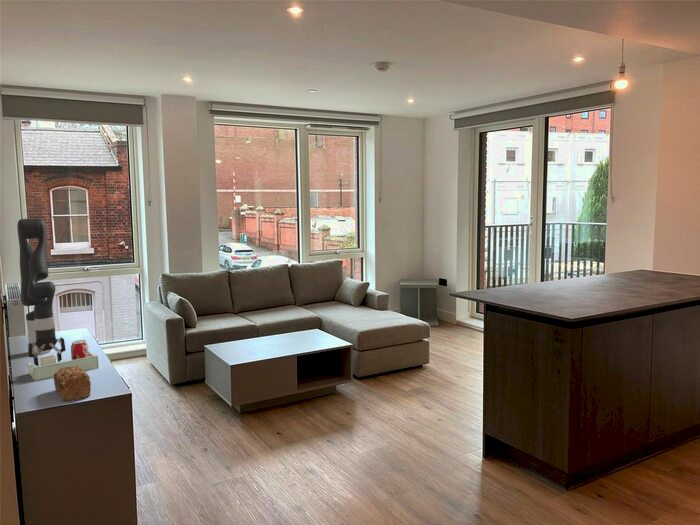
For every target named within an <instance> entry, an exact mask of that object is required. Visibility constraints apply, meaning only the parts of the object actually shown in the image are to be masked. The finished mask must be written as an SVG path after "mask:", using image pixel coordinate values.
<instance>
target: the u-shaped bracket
mask: <svg viewBox="0 0 700 525" xmlns="http://www.w3.org/2000/svg"><path fill="white" fill-rule="evenodd" d="M88 352H89V357H86V358H81V359H76V360H72V359H71V360H66V361H60V362H56V363H54V364H49V365H44V366H41V365H40V366H33V364H32V363H31V362H30V361H29V362H27V368H28V375H29V376H30V377H31V378H32V380H33V381H34V382H36V381H41V380H45V379H51V378H53V377H54V373H56V372H57V371H58V370H60V369H61V368H65V367H71V366H79V367H81V368H82V369H83V371H85V372H87V371H90V370H95V369H99V368H100V367H99V357H98V355H96V354H94V352H92V351H89V350H88ZM40 379H41V380H40Z"/></svg>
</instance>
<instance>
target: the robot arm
mask: <svg viewBox="0 0 700 525" xmlns="http://www.w3.org/2000/svg"><path fill="white" fill-rule="evenodd" d="M16 227H17V236H18V244H19V245H18V246H19V270H20V272H19V273H20V302H21V305H22V306H23V307H31V306H33V310H32V311H30V312H28V313H26V315H25V320H26V329H27V330H26V331H27V340H28V343H27V356H28V357H29V358H33V364H34V365H35V367H38V366H39V358H38V357H39V355H43V354H48V353H49V352H51V351H52V350H54V351H55V352H57V353H56V361H57V363H60V362H61V361H62V357H63V356H62V353H64V352H66V351H67V350H66V343H65V339H64V338H63V336H61V337H59V338H56V323H55V319H54V311H53V303H54V298H55V294H56V285H55V284H54V282H52V281H43V280H45V279H47V278H49V268H48V260H47V246H48V245H47V226H46V222H45V220H44V219H43V218H41V217H40V218H38V217H36V218H35V217H34V218H21V219H19V220H18V222H17V225H16ZM36 239H37V240H38V243H37V245H36V247H35V248H34V247H33V246H32V245H31V244H30V242H29V240H36ZM57 343H58V344H60V349H59V348H58V347H57V346H56V345H57Z"/></svg>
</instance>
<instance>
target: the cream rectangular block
mask: <svg viewBox="0 0 700 525" xmlns="http://www.w3.org/2000/svg"><path fill="white" fill-rule="evenodd" d="M39 360H40V366H44V365H49V364H54V363H57V356H55V355H54V354H47V355H41V356H39Z"/></svg>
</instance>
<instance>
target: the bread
mask: <svg viewBox="0 0 700 525" xmlns="http://www.w3.org/2000/svg"><path fill="white" fill-rule="evenodd" d="M52 378H53V382H54V383H53V385H54V388H55V391H56V392H57V394H58V396H59V397H60V399H61V400H62V402H73V401H77V400H82V399H87V398H89V397H90V396H91V392H92V391H91V390H92V389H91V388H92V386H91V385H92V384H91V379H90V378H91V377H90V375H89V374H88V373H87V371H83V369H82V368H81V367H79V366H71V367H65V368H61V369H60V370H58V371H57V372H56V373H54V377H52Z"/></svg>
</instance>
